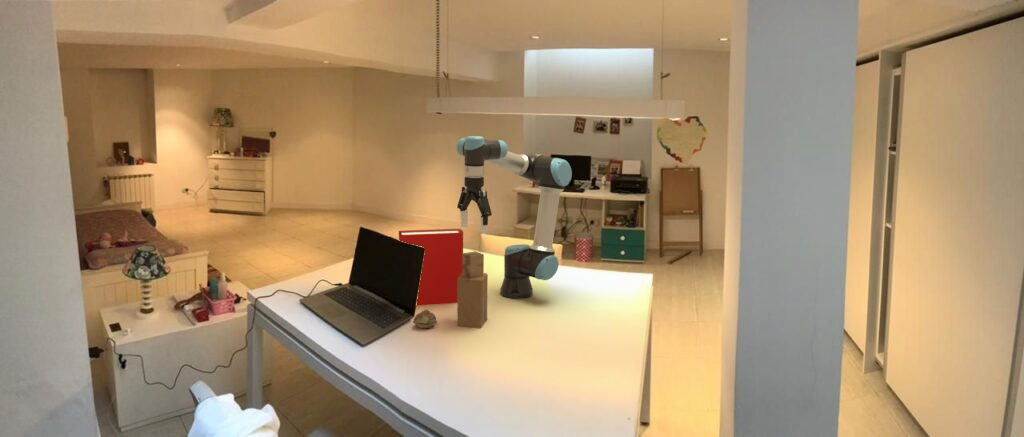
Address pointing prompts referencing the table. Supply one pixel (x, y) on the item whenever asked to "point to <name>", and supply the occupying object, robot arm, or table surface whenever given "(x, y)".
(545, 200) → the robot arm
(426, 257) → the book
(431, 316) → the seashell
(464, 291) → the wooden block
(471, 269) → the walnut block
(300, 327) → the table surface
